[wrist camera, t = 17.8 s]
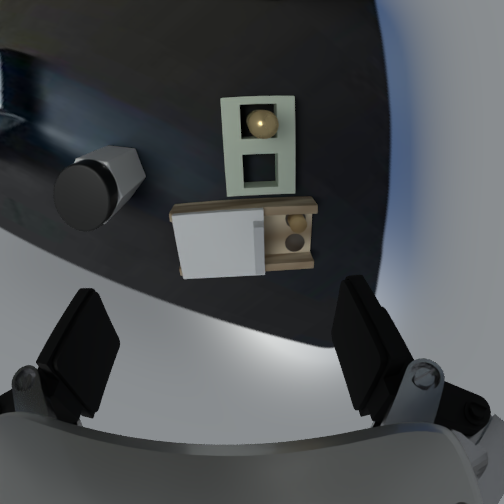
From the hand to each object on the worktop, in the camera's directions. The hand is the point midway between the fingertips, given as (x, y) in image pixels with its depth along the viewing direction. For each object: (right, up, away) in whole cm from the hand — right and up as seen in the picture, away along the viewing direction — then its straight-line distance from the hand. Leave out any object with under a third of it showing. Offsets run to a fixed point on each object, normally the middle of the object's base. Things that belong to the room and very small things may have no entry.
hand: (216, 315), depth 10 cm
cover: (-3, +3, +28) cm, 29 cm away
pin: (+2, +20, +24) cm, 31 cm away
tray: (0, +6, +32) cm, 32 cm away
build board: (+2, +17, +25) cm, 31 cm away
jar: (-18, +14, +26) cm, 35 cm away
